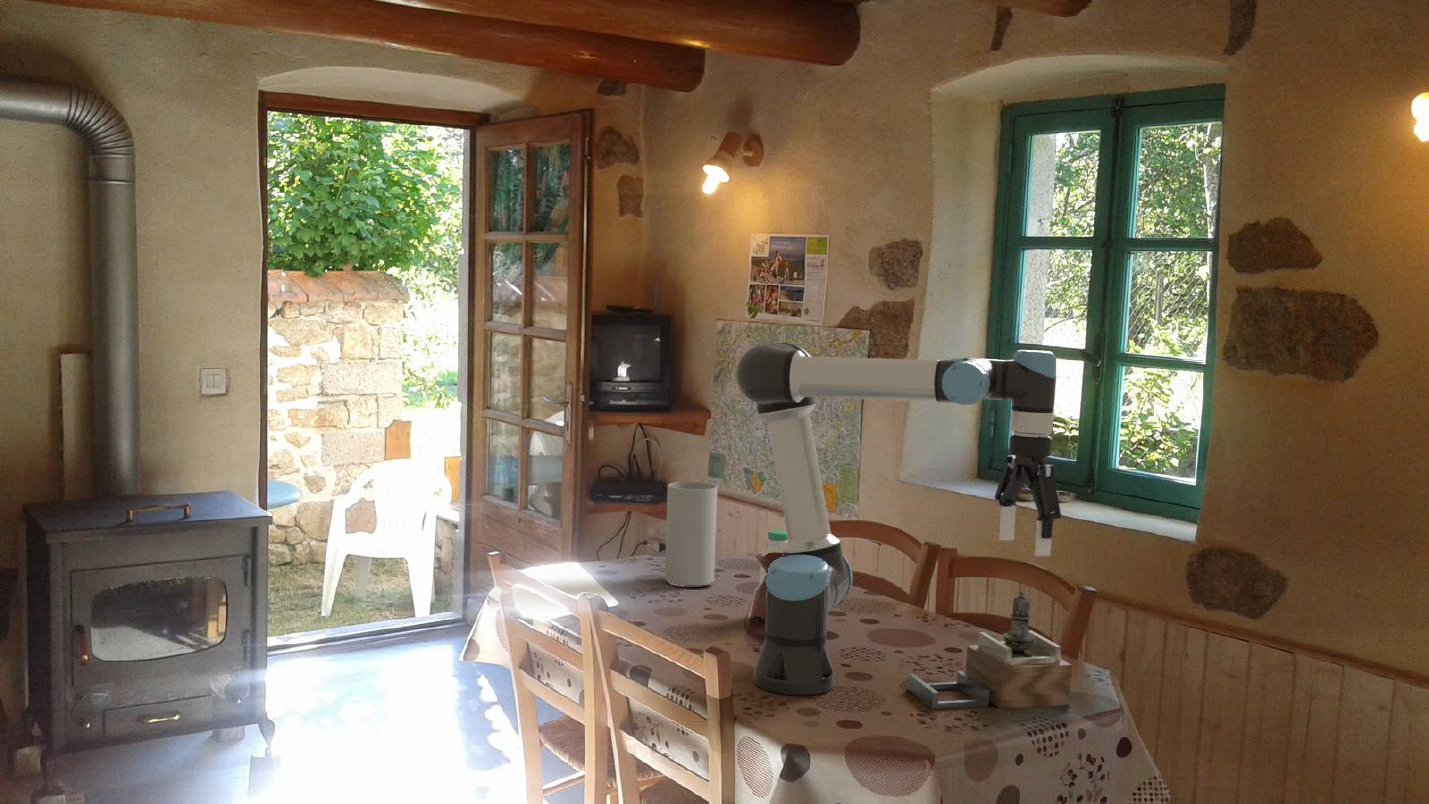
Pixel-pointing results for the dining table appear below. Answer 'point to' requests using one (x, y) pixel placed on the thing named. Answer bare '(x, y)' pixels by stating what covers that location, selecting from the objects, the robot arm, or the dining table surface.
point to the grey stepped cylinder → (1019, 629)
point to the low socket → (963, 683)
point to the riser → (1020, 673)
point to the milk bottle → (774, 547)
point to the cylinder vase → (690, 533)
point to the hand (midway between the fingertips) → (1023, 547)
